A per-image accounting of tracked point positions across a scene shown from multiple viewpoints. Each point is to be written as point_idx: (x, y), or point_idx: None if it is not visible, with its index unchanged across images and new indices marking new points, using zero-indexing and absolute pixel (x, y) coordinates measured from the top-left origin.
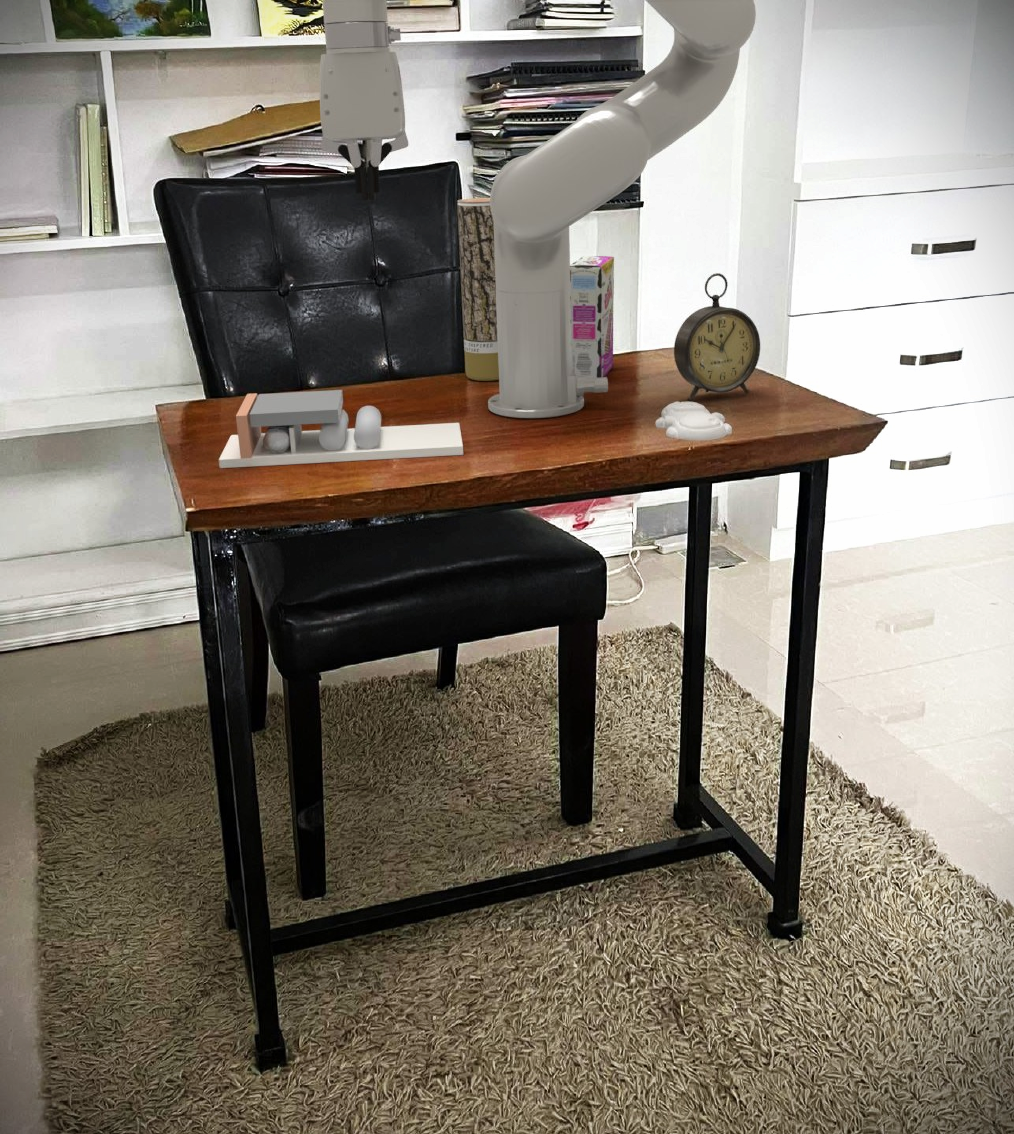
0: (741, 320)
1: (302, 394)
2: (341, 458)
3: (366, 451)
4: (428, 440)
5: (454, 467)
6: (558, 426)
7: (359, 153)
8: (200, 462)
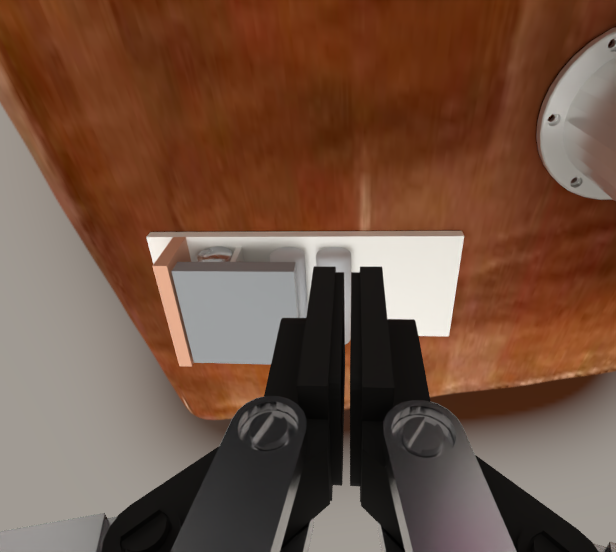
0: None
1: (238, 286)
2: None
3: None
4: (410, 307)
5: (430, 364)
6: (610, 234)
7: (289, 501)
8: (143, 301)
